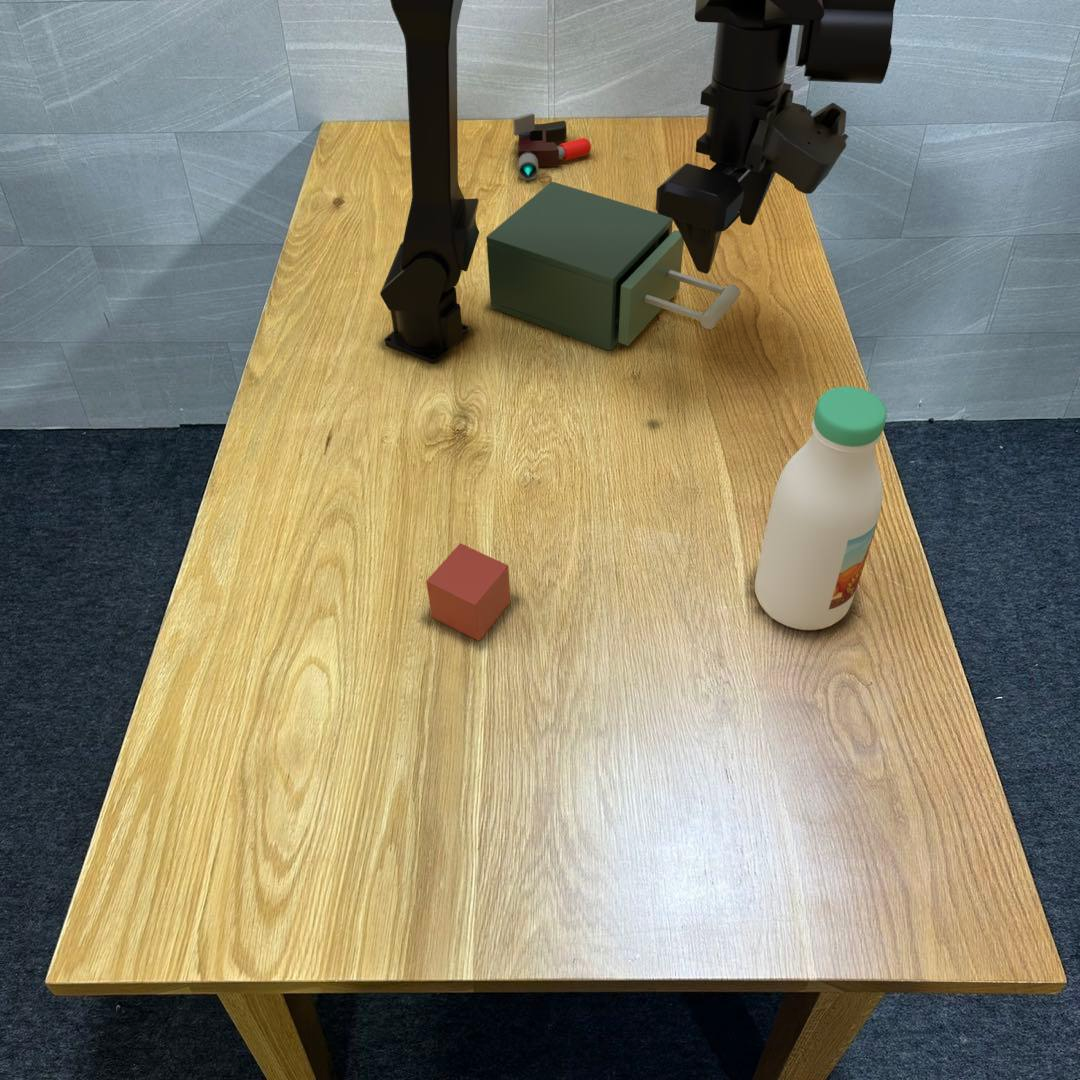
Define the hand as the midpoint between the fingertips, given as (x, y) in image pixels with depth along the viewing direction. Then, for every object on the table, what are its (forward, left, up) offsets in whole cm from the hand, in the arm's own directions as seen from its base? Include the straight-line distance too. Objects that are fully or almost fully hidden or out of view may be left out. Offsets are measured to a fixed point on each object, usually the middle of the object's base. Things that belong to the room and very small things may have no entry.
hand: (725, 247), depth 94 cm
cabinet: (-17, +2, -13) cm, 21 cm away
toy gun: (-35, +26, -13) cm, 45 cm away
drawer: (-10, +2, -12) cm, 16 cm away
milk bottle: (+19, -24, -13) cm, 33 cm away
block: (-3, -39, -13) cm, 41 cm away
